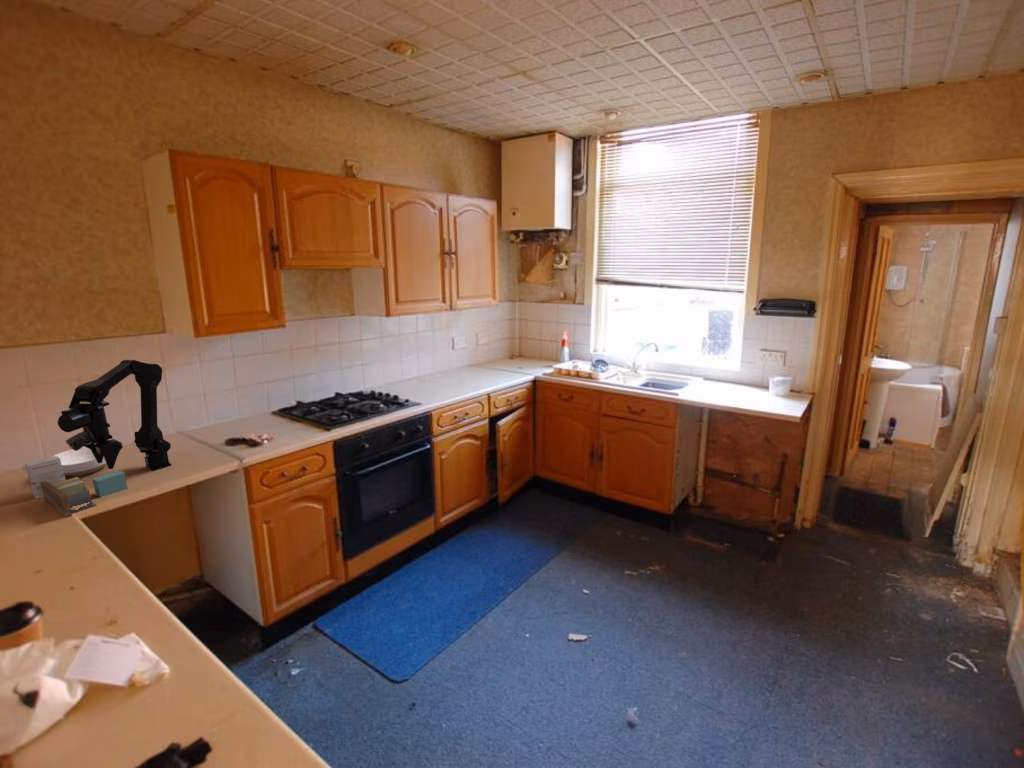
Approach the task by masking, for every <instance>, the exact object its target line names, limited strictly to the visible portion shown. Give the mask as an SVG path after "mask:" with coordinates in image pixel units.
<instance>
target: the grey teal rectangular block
mask: <svg viewBox="0 0 1024 768" xmlns="http://www.w3.org/2000/svg"><path fill="white" fill-rule="evenodd" d="M91 480H92V483H93V488H94V493H95V495H96V496H97V495H98V496H97V497H99V496H100V497H99V498H103V497H102V496H104V497H106V495H107V496H109V494H110V495H113V494H116V493H118V492H122V491H125V490H128V484H127V483H128V482H127V478H126V473H125V472H123V471H121V469H120V470H116V471H113V472H109V473H107V474H103V475H100V476H96V477H93V478H92V479H91ZM115 492H116V493H115ZM112 493H113V494H112Z"/></svg>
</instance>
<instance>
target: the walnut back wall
mask: <svg viewBox="0 0 1024 768" xmlns="http://www.w3.org/2000/svg"><path fill="white" fill-rule="evenodd" d="M40 485H41V488H42V492H43V496H44V497H43V499H44V503H46V504H47V505H48V506H50V508H51V507H52V508H53V509H54V510H56V512H58V514H60V515H62V516H63V517H65V518H69V517H72V516H73V514H71V510H70V506H69V502H68V498H67V495H66V494H64V493H63V492H62V491H60V490H59V489H57V488H56V487H54V486H53V485H51V484H50V483H48V482H47V481H43V482H40Z"/></svg>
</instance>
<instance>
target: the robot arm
mask: <svg viewBox="0 0 1024 768" xmlns="http://www.w3.org/2000/svg"><path fill="white" fill-rule="evenodd" d="M131 375H134V380H135V382H136V384H138V386H139V388H140V423H141V426H140V428H139V430H138V431H135V432H134V442H133V443H135V447H136V448H137V449H138V450H139V452H140V453H141V454H145V456H144V462H145V463H144V464H145V468H147V469H149V470H150V471H151V470H152V471H155V470H159V469H160V470H161V469H163V468H166V467H170V466H171V465H172V463H171V462H170V460H169V453H168V451H169V450H171V448H172V447H171V446H172V445H171V442H169V441H167V440H166V439H164V435H163V432H162V430H161V429H160V427H159V426H158V396H157V395H158V394H157V393H158V391H157V390H158V389H157V388H158V386H159V385H160V383H161V381H162V379H163V378H162V377H163V367H162V366H160V364H158V363H147V362H141V361H139V360H136V359H124V360H122V361H120V362H119V364H117V365H116V366H114V367H113V368H111V369H110V370H109V371H107V372H106V373H104V374H102V375H101V376H100V377H98V378H97V379H95V380H94V379H93V380H90V381H87V382H84V383H82V384H79V385H78V386H77V387H75V389H74V392H73V393H74V394H73V396H72V399H71V401H70V403H69V406H68V409H67V410H66V409H64V410H62V411H61V412H60V413H61V415H60V416H59V417H58V419H57V425H58V427H59V428H60V430H62V431H63V432H65V433H72V432H74V431H77V430H79V429H83V430H82V431H80V432H79V433H76V434H75V435H73V436H71V437H70V438H67V439H66V440H65V443H66V444H67V445H68V447H70V450H72V449H73V450H75V451H77V450H79V449H81V448H82V447H87V448H89V449H90V450H91V452H92V454H93V455H94V457H95V459H96V460H97V462H98V463H102V461H103V457H104V459H105V461H106V465H107V468H108V470H112V469H114V467H115V464H116V462H117V460H118V456H119V454H120V452H121V450H122V449H123V443H122V442H121V441H119V440H117V439H115V438H113V435H112V434H110V431H109V430H110V429H109V428H110V427H111V424H110V423H108V421H107V415H106V412H105V407H107V406H109V405H110V402H107V401H106V400H105V399H106V398H107V397H108V395H109V394H110V390H111V389H113V388H114V387H115V386H116V385H118V384H119V383H120V382H121V381H123V380H125V379H126V378H127V377H129V376H131Z"/></svg>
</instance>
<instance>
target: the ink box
mask: <svg viewBox="0 0 1024 768" xmlns="http://www.w3.org/2000/svg"><path fill="white" fill-rule="evenodd" d="M53 456H54V455H53ZM24 466H25V470H26V472H27V476H28V481H29V484H30V487H31V491H32V494H33V497H34V498H35V499H37V500H38V499H40V498H41V499H42V498H44V496H43V492H42V488H41V485H40V482H43V481H47V482H48V483H50V484H55V483H58V482H62V481H65V480H66V475H64V472H63V468H62V464H61V460H60V458H59V457H57V456H54V457H52V456H50V457H47V458H43V459H38V460H34V461H31V462H27V463H25V464H24Z"/></svg>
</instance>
